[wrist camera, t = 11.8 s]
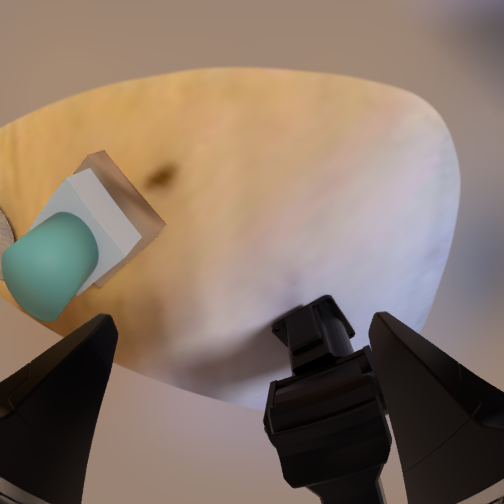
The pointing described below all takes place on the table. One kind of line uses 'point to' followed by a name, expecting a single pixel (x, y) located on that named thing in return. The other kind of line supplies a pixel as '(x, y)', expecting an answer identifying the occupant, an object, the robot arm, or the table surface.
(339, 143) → the table surface
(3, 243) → the seashell
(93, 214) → the grey block
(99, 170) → the walnut base
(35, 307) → the teal cylinder
